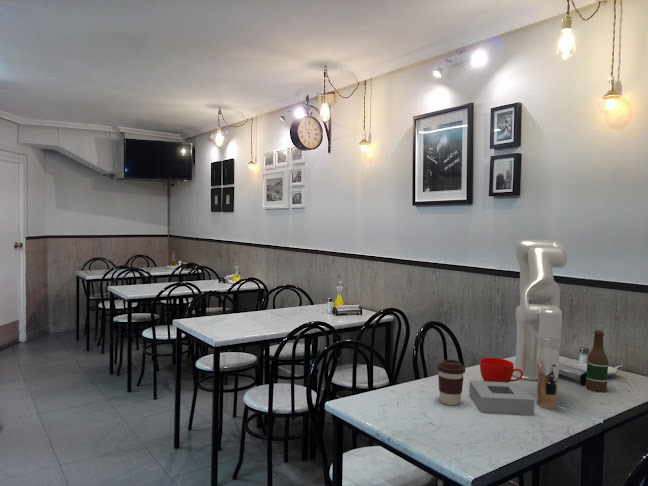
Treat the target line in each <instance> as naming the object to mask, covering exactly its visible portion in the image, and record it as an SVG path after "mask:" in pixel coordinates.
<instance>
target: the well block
mask: <svg viewBox="0 0 648 486" xmlns="http://www.w3.org/2000/svg"><path fill="white" fill-rule="evenodd" d="M468 395H469V397H470V398H471V400H472V401H473V403H474V404H475V406H476V407H477V409H478V410H479V412H480V413H482V414H496V415H497V414H500V415H515V416H517V415H520V416H535V415H534V413H535V411H534V410H535V398H534V397H532V396H531V395H530V394H529V393H528V392H527V391H526V390H525V389H524V388H523V387H522V386H521V385H520V384H519V383H518V382H509V383H507V382H486V381H484V380H483V381H482V380H481V381H480V380H469V389H468Z"/></svg>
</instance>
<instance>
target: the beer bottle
mask: <svg viewBox="0 0 648 486" xmlns="http://www.w3.org/2000/svg"><path fill="white" fill-rule="evenodd" d="M593 334H594V337H593V345H592V349H591V350H590V352H589V353H588V356H587V360H586V376H585V377H586V378H585V388H586V389H587V390H588V391H590V390H591V392H593V391H595V393H600V392H602V393H606V392H607V391H608V389H607V388H608V372H609V360H608V356H607V355H606V353H605V350H604V335H605V333H604V331H602V330H594V332H593Z"/></svg>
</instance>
